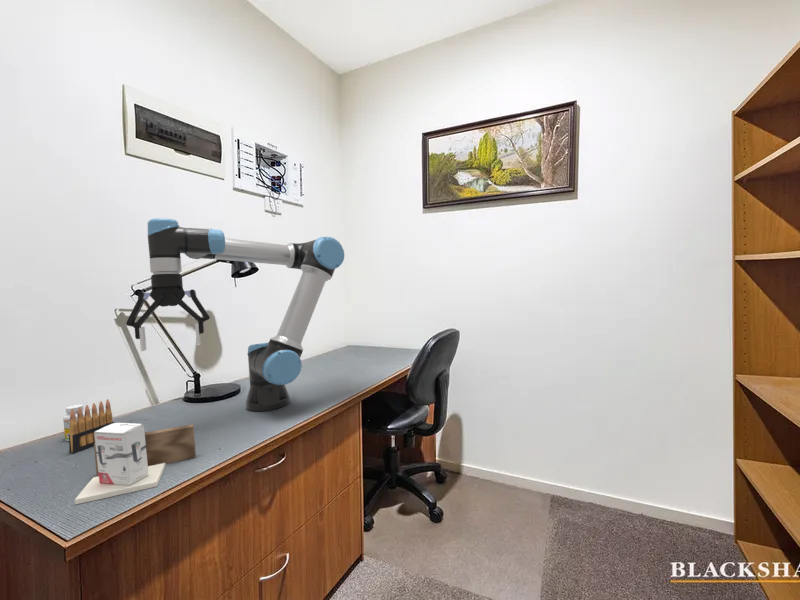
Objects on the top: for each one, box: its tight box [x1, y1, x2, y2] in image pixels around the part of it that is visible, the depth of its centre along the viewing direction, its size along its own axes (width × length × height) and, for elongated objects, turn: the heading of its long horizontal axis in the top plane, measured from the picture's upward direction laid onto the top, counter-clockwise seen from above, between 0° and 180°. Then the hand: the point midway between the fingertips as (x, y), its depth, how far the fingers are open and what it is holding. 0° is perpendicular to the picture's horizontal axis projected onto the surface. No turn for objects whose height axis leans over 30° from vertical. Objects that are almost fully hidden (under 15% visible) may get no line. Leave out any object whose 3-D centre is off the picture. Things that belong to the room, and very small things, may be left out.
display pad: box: [74, 463, 166, 506], centre depth 81 cm, size 14×10×1 cm
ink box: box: [94, 422, 149, 485], centre depth 81 cm, size 9×5×12 cm, turn 78°
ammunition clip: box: [68, 398, 115, 455], centre depth 104 cm, size 11×2×12 cm, turn 159°
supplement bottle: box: [63, 404, 85, 442], centre depth 111 cm, size 5×5×10 cm
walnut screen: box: [93, 424, 197, 477], centre depth 89 cm, size 20×2×8 cm, turn 114°
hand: (171, 347), depth 105 cm, fingers open, 13 cm apart
